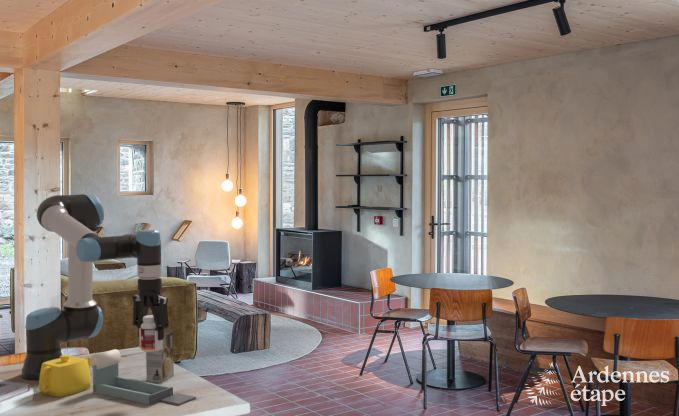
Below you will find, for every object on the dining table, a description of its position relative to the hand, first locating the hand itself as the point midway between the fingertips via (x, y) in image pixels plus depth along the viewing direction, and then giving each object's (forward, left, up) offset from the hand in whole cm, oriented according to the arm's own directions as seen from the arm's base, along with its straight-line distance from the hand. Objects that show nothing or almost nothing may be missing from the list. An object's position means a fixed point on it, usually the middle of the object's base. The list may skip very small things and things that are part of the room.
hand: (151, 348), depth 238 cm
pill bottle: (0, 0, -1) cm, 1 cm away
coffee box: (-13, +17, -16) cm, 27 cm away
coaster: (+9, +2, -16) cm, 19 cm away
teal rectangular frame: (-8, -1, -16) cm, 18 cm away
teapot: (-31, -8, -16) cm, 36 cm away
